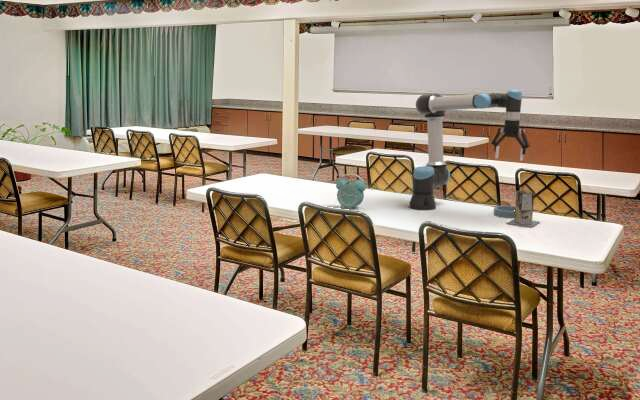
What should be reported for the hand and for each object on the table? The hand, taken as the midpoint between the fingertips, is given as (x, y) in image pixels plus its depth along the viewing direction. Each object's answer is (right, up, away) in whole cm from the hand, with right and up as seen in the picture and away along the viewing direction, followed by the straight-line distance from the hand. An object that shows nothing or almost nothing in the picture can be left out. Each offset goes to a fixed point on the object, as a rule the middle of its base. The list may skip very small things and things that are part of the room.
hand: (509, 159), depth 331 cm
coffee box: (+4, -34, -11) cm, 36 cm away
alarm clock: (-84, -27, +25) cm, 92 cm away
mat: (+4, -34, -11) cm, 36 cm away
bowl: (+2, -30, +8) cm, 31 cm away
